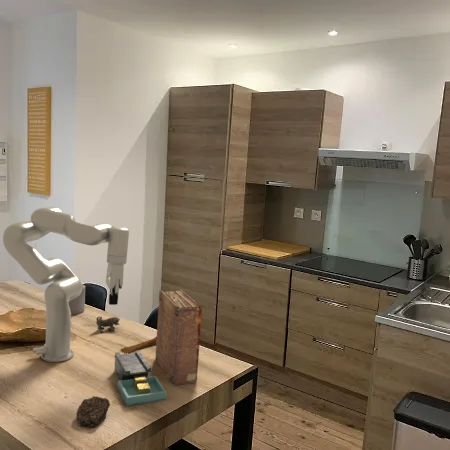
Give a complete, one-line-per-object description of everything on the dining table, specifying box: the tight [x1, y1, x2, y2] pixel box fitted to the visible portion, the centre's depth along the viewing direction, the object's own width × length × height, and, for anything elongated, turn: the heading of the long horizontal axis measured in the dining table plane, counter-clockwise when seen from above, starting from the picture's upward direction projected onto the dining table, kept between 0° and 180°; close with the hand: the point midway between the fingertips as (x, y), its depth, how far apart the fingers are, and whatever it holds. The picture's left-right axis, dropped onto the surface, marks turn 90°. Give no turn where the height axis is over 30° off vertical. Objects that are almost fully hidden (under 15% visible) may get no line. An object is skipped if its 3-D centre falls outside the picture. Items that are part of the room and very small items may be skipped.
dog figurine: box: [95, 316, 120, 334], centre depth 226 cm, size 12×6×7 cm, turn 122°
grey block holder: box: [114, 350, 153, 381], centre depth 179 cm, size 10×17×7 cm, turn 26°
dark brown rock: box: [75, 395, 111, 428], centre depth 150 cm, size 12×10×5 cm
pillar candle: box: [68, 284, 86, 315], centre depth 249 cm, size 10×10×15 cm
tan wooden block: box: [133, 375, 147, 391], centre depth 170 cm, size 4×4×3 cm
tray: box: [117, 375, 167, 407], centre depth 167 cm, size 14×13×3 cm
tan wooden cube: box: [136, 383, 150, 395], centre depth 166 cm, size 4×4×3 cm
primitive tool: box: [120, 335, 157, 354], centre depth 209 cm, size 19×6×4 cm, turn 137°
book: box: [155, 289, 203, 386], centre depth 187 cm, size 25×9×30 cm, turn 24°
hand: (113, 303), depth 185 cm, fingers closed
